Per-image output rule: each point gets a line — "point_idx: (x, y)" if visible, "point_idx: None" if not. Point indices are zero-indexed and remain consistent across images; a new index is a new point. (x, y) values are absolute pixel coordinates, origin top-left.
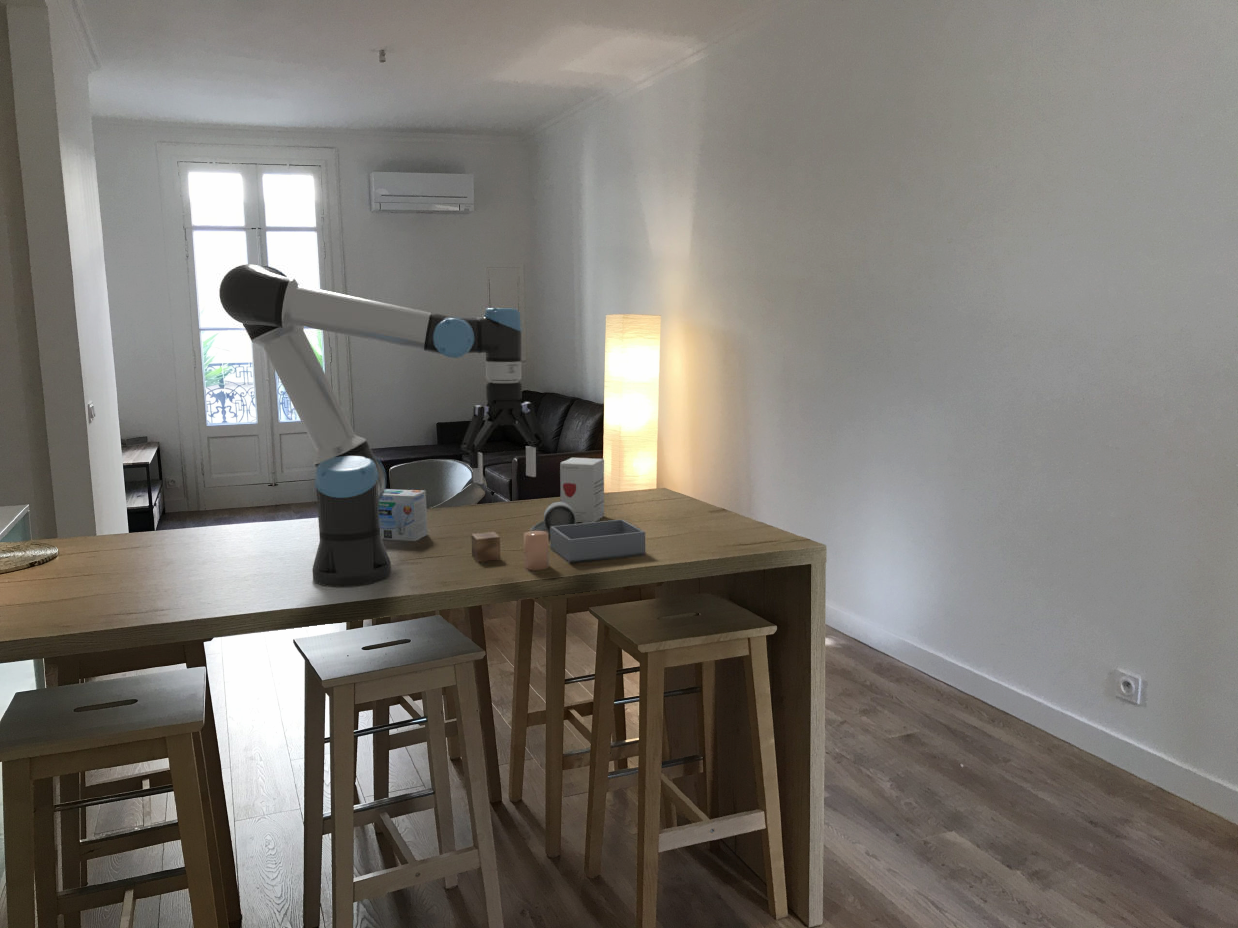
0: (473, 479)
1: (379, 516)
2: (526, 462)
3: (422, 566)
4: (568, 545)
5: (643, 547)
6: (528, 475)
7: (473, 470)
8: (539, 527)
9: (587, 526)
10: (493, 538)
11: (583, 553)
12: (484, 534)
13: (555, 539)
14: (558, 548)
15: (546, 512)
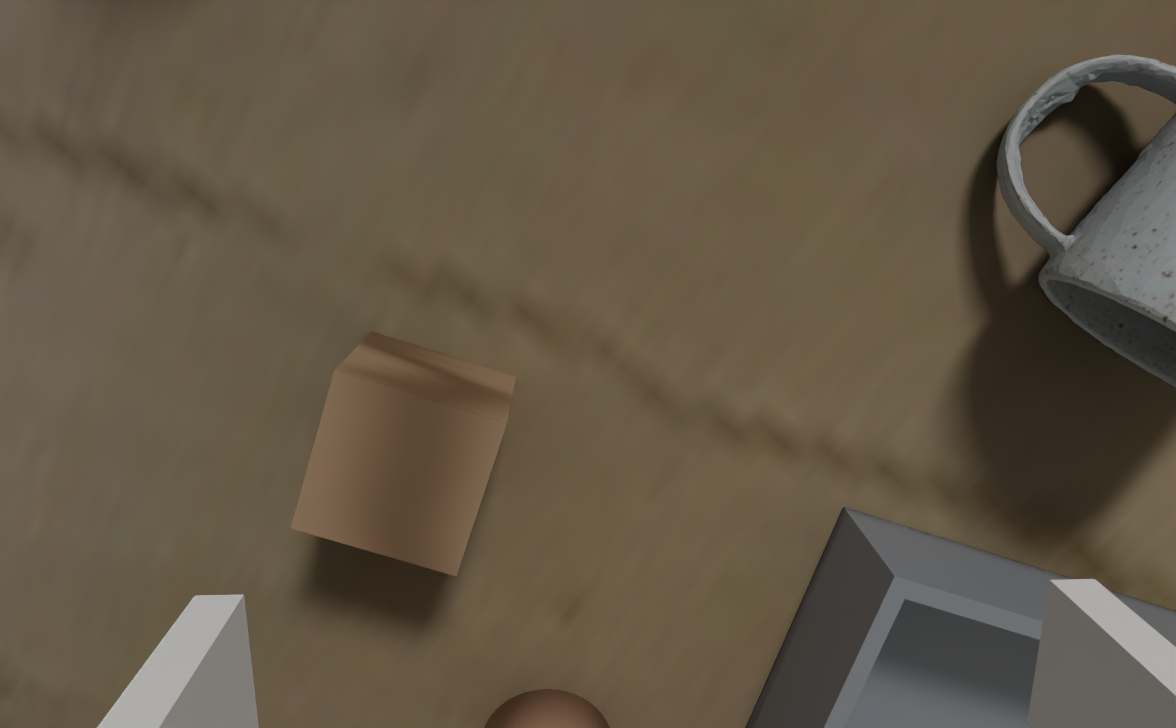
0: (182, 624)
1: None
2: (1167, 703)
3: (3, 335)
4: None
5: None
6: (1043, 634)
7: (121, 714)
8: (1033, 222)
9: None
10: (413, 558)
11: None
12: (405, 450)
13: (826, 644)
14: (792, 668)
15: (1131, 300)
